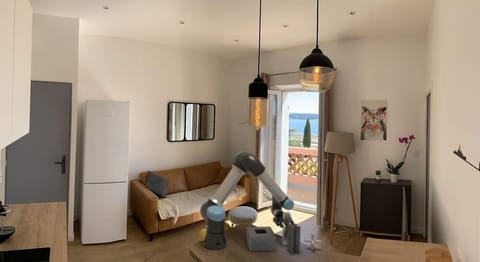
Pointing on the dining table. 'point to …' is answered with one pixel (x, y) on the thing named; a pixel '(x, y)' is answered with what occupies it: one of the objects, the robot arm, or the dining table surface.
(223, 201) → the robot arm
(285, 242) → the square bit
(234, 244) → the dining table surface
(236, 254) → the dining table surface
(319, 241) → the pipe connector
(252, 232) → the bore block
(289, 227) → the cross bit
